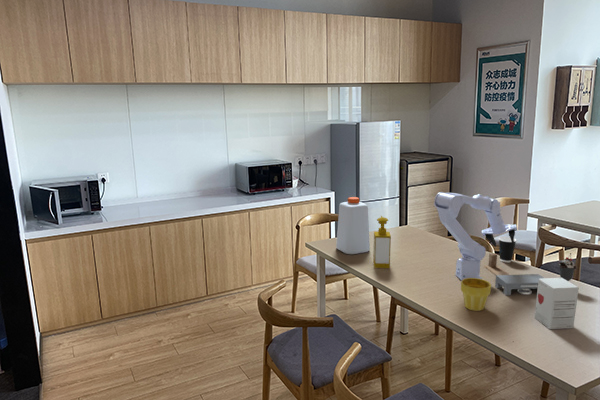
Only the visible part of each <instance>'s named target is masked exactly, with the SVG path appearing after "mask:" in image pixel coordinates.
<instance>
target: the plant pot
mask: <svg viewBox="0 0 600 400" xmlns="http://www.w3.org/2000/svg"><path fill="white" fill-rule="evenodd" d="M460 290H461V292H462V297H463V302H464V306H465V308H466V309H468V310H470V311H473V312H474V311H475V312H478V311H479V312H480V311H483V310H484V309H485V306H486V304H487V303H486V302H487V301H488V297H489V295H491V291H492V283H491V282H489V281H487V280H485V279H483V278H482V279H479V278H466V279H463V280H462V281H461V280H460Z"/></svg>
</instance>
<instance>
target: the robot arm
mask: <svg viewBox="0 0 600 400" xmlns="http://www.w3.org/2000/svg"><path fill="white" fill-rule="evenodd" d="M465 204H466V205H469V206H470V207H471V208H472V209H476V210H480V211H484V213H485V215H486V217H487V220H488V223H489V225H490V226H489V227H488V228H485V229H482V230H481V235H482V236H484V237H485V239H486V240H487V241H488V242H490V243H491V245H493V246H494V248H496V247H497V243H496V240H495V237H494V235H501V234H504V233H506V232H507V233H508V237H510V238H511V241H512V244H514V239H515V235H516V232H517V231H518V227H517V224H516V223H515V224H505V222H504V220H503V216H502V214H501V210H502V209H501V202H500V201H498V199H496V198H491V197H490V196H488V195H487V196H486V195H485V196H483V194H480V193H478V194H474V195H473V196H469V195H466V194H465V195H464V194H462V193H456V192H443V191H440V192H437V194H436V195H435V197H434V202H433V206H434V207H435V209H436V210H437V214H438V217H439V221H440V223H441V224H442V225H443V226H444V227H445V228H446V230H447V231H448V232H449V234H451V236H452V237H453V238H454V239H455V240H456V242H457V243H458V244H457V247H458V250H459V253H460V254H461V257H460V258H457V260H456V263H455V264H456V265H455V274H454V275H455V276H456V277H457V278H458V279H459V280H460V282H461V281H462V280H463V279H466V278H479V279H483V277H481V276H480V274H481V273H480V272H481V262H482V260H483V259H484V258H485V256H486V252H487V249H486V247H485V246H483V245H481V244H480V243H478V242H477V241H476V240H474V239H473V238H471V236H470V235H469V234H468V232H467V231H466V230H465V228H464V227H463V226H462V225H461V223H460V222H459V220H457V218H458V215H459V212H460V210H461V207H463V205H465Z"/></svg>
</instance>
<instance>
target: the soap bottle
mask: <svg viewBox="0 0 600 400" xmlns="http://www.w3.org/2000/svg"><path fill="white" fill-rule="evenodd" d="M376 221H378V224H379V225H380V227H378V231H373V257H372V259H373V263H374V264H373V263H372V264H373V269H390V267H391V242H392V241H391V239H392V236H391V233H390V231H387V228H386V227H385V225H387V224H388V222H389V219H388V218H387V217H384V216H382V215H380V217H379V218H377V219H376Z"/></svg>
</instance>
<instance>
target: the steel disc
mask: <svg viewBox="0 0 600 400" xmlns="http://www.w3.org/2000/svg"><path fill="white" fill-rule="evenodd" d="M517 293H518V294H521V295H524V296H525V295H527V296H529V295H532V289H517Z"/></svg>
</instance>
